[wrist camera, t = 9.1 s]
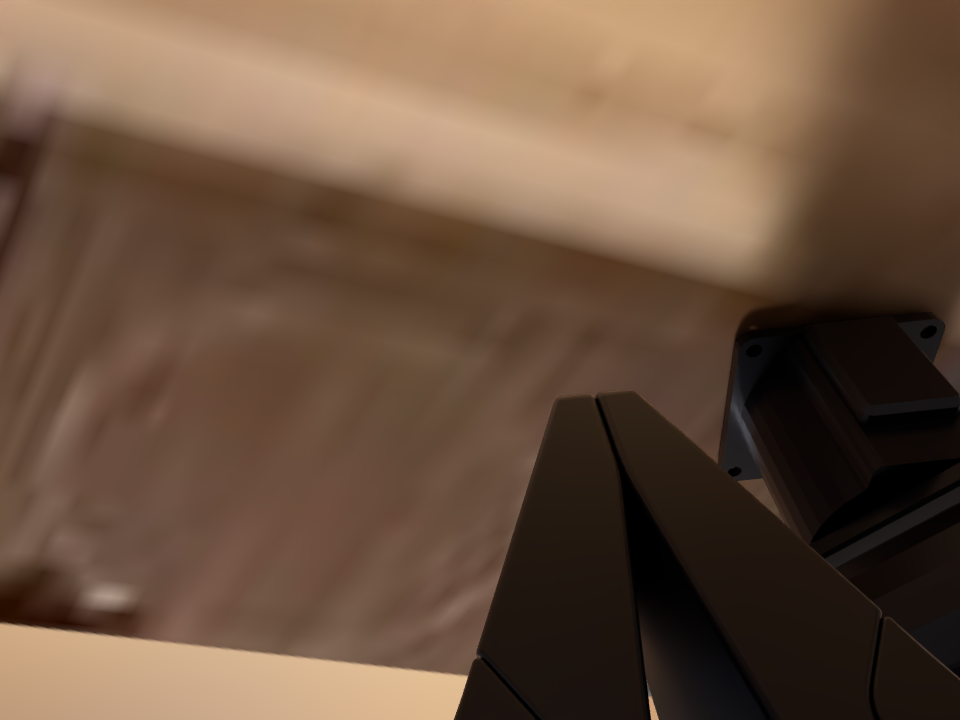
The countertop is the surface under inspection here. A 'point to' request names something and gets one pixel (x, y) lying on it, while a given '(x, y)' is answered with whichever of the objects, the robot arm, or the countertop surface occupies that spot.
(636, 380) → the countertop surface
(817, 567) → the robot arm
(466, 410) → the countertop surface
